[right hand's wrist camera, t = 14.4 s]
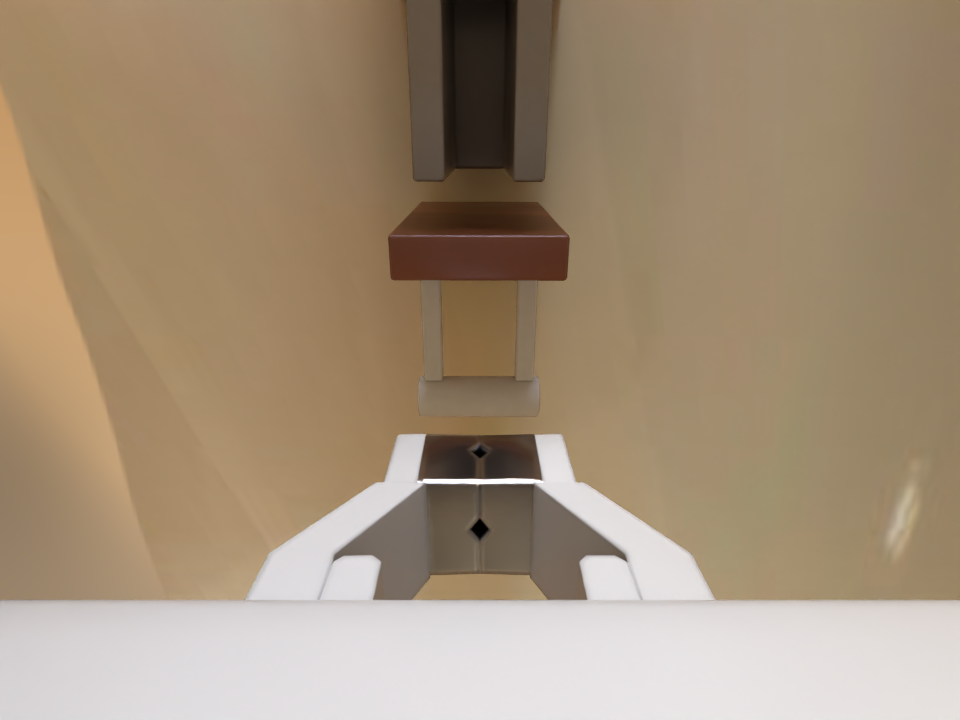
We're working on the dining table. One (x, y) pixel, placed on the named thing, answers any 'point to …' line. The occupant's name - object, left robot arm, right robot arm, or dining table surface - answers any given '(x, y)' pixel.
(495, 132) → the drawer
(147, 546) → the dining table surface
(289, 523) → the dining table surface
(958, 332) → the dining table surface
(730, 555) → the dining table surface
